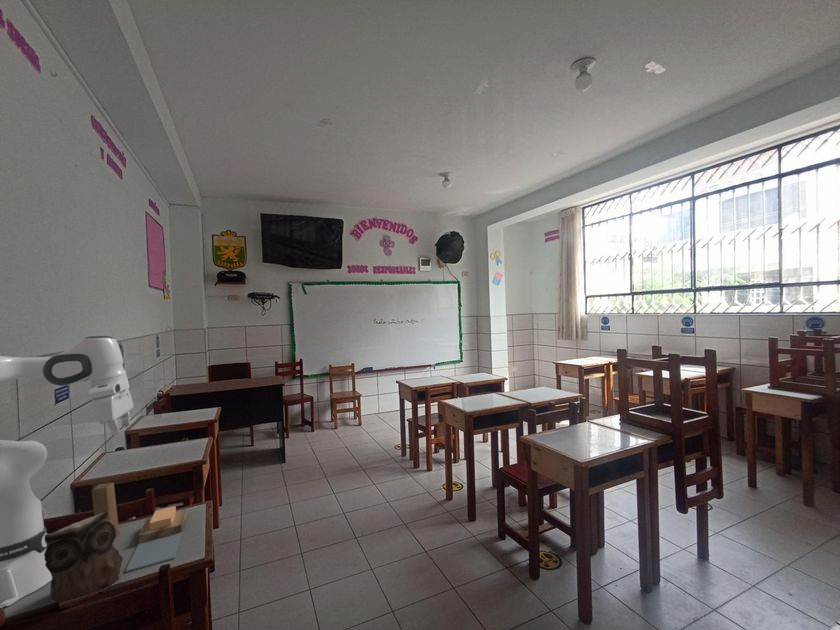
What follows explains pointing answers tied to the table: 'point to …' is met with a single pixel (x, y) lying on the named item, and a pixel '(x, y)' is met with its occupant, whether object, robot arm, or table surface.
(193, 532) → the table surface
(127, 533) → the table surface
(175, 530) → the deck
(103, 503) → the wooden block
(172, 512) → the tile
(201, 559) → the table surface
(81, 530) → the owl
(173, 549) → the mat
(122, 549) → the table surface
